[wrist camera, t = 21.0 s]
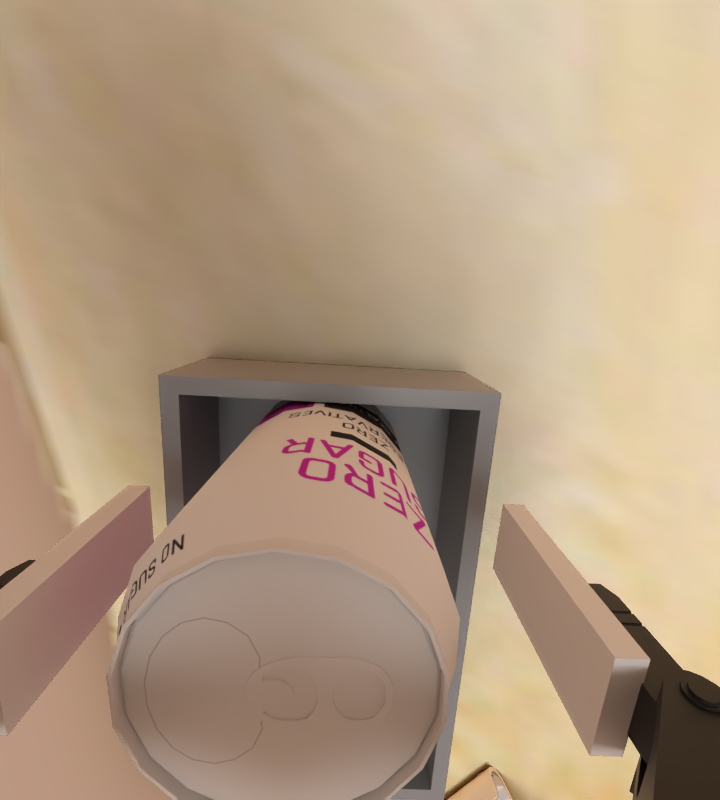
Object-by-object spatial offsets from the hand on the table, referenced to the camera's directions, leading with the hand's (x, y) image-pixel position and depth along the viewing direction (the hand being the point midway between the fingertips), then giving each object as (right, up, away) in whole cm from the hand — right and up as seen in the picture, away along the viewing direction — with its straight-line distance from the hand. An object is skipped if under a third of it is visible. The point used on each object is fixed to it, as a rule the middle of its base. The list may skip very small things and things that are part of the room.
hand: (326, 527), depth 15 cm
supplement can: (-1, +2, +8) cm, 8 cm away
